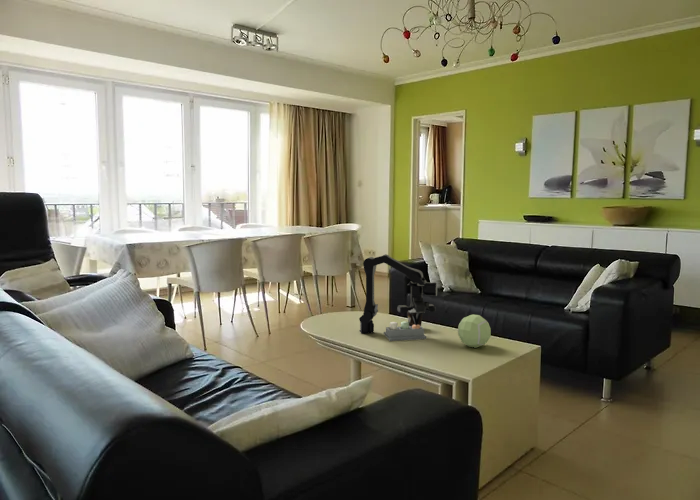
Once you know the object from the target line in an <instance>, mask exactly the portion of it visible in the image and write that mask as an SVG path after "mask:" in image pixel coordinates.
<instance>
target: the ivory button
mask: <svg viewBox="0 0 700 500" xmlns="http://www.w3.org/2000/svg"><path fill="white" fill-rule="evenodd" d="M389 327H390V330H397V327H398V322H397V321H390V322H389Z"/></svg>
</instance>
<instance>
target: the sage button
mask: <svg viewBox="0 0 700 500" xmlns="http://www.w3.org/2000/svg"><path fill="white" fill-rule="evenodd" d="M400 327H401V329H409V322H408V321H404V320H403V321H401V322H400Z"/></svg>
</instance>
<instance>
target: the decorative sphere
mask: <svg viewBox="0 0 700 500" xmlns="http://www.w3.org/2000/svg"><path fill="white" fill-rule="evenodd" d="M491 329H492V328H491V326H490V324H489V322H488V320H487V319H485V318H484V317H483V316H481V315H480V314H470V315H468V316H465V317H463V318H462V319H461V320H460V322H459V324H458V327H457V335H458V337H459V340H460V341H461V342H462V343H464V345H466V346H467V347H469V348H473V347H474V349H477V348H479V347H482V346H484V345H486V344H487V342H489V340H490V338H491V337H492V336H491V333H492V332H491Z"/></svg>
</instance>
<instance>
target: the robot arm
mask: <svg viewBox="0 0 700 500" xmlns="http://www.w3.org/2000/svg"><path fill="white" fill-rule="evenodd" d="M362 264H363V265H362V266H363V271H364V273H365V304H364V308H363V313H362V315H361V316H360V317H359V318H358V319H359V320H358V321H359V332H360V334H364V335H365V334H374V332H375V324H374V321H373V319H374V317H376V315H377V313H378V312H379V309H378V306H379V303H376V302H375V273H376V270H377V266H378V265H381V264H385V265H387V266H389V267H391V268H393V269H395V270H396V271H399V272H400V273H402V274H403V275H404V276H406V278H407V279H409V280H410V281H409V283H408V284H407V287H410V297H409V298H410V303H409V304H410V305H409V306H407V305H406V304H403V305H402V304H399V305H397V309H396V310H397V312H398V313H400V314H405V313H406V314H407V312H409V313H410V314H411V315H412V317H413V320H414V323H415V325H417V324H418V322H419V319H420V317H421V315H422V314H423V315H424V314H425V313H426V311H427V310H428V311H429V312H431V313H432V312H436V309H437V308H436V306H435V305H434V304H432V303H430V302H429V301H425V302H424V298H423V295H425V296H428V297H430V296H432V297H437V296H438V284H437V283H438V282H436V281H434V282H428V281H427V280H426V279H425V277H424V273H423V271H421V270H420V269H417V268H413V267H410V266H407V265H406V264H404V263H403V262H400V261H399V260H397V259H395V258H393V257H391V256H390V255H389V254H383V255H381V256H377V257H373V256H369V257H367V258H366V259H364V260H363V262H362ZM415 310H416V312H415ZM423 315H422V316H423Z"/></svg>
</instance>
